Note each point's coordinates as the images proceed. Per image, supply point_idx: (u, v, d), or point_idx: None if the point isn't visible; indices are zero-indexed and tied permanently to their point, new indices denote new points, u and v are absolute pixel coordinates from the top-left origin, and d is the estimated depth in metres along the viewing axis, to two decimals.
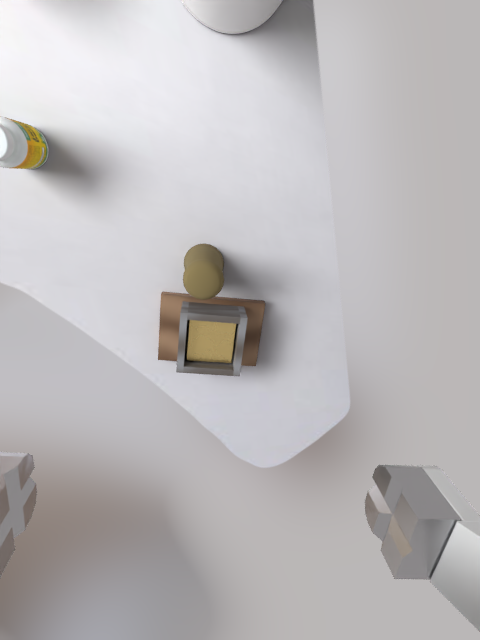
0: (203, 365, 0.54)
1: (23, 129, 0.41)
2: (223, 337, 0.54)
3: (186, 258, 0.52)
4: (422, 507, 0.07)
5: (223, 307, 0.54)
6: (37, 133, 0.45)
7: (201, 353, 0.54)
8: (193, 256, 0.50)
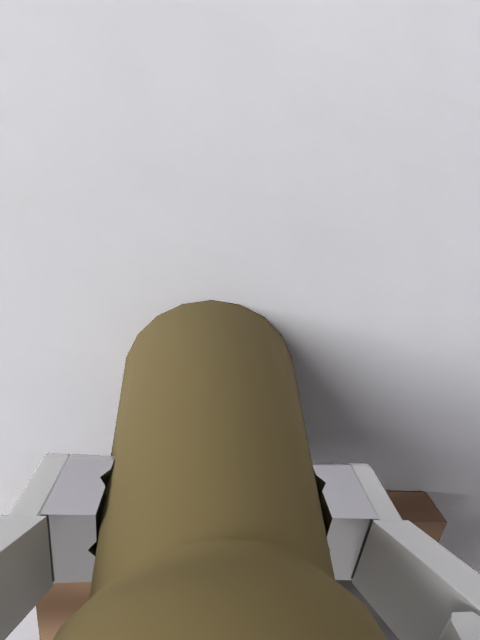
0: None
1: None
2: None
3: (125, 379, 0.11)
4: (340, 506, 0.07)
5: None
6: None
7: None
8: (149, 407, 0.08)
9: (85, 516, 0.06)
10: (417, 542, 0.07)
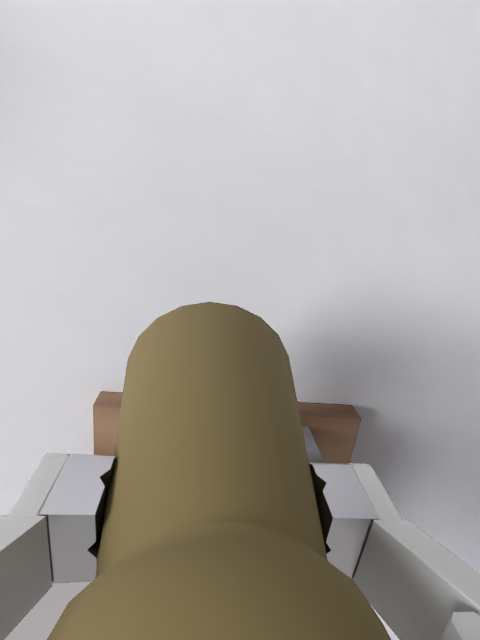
0: None
1: None
2: None
3: (127, 379, 0.11)
4: (340, 506, 0.07)
5: None
6: None
7: None
8: (150, 403, 0.08)
9: (84, 516, 0.06)
10: (418, 542, 0.07)
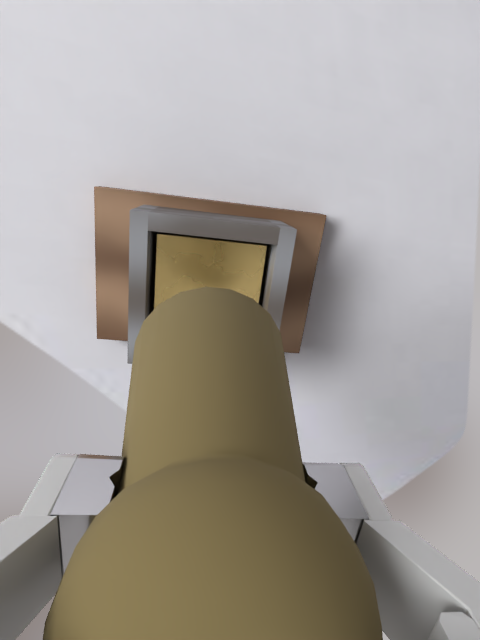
0: None
1: None
2: (236, 283, 0.23)
3: (135, 358, 0.12)
4: (331, 505, 0.07)
5: (236, 217, 0.24)
6: None
7: None
8: (154, 373, 0.10)
9: (95, 516, 0.06)
10: (407, 542, 0.07)
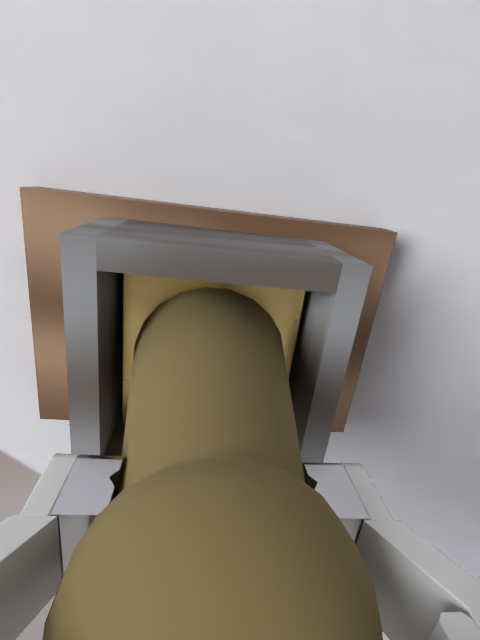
0: None
1: None
2: None
3: (135, 359, 0.12)
4: (331, 505, 0.07)
5: (256, 237, 0.15)
6: None
7: None
8: (154, 374, 0.10)
9: (95, 516, 0.06)
10: (407, 542, 0.07)
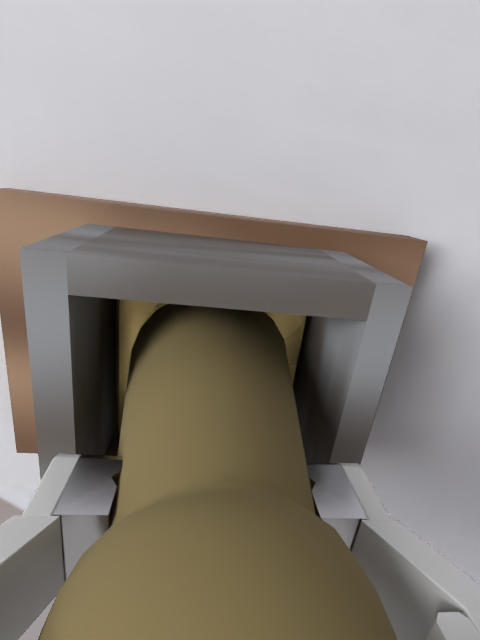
0: None
1: None
2: None
3: (131, 367, 0.12)
4: (329, 505, 0.07)
5: (265, 248, 0.12)
6: None
7: None
8: (150, 386, 0.09)
9: (97, 516, 0.06)
10: (406, 542, 0.07)
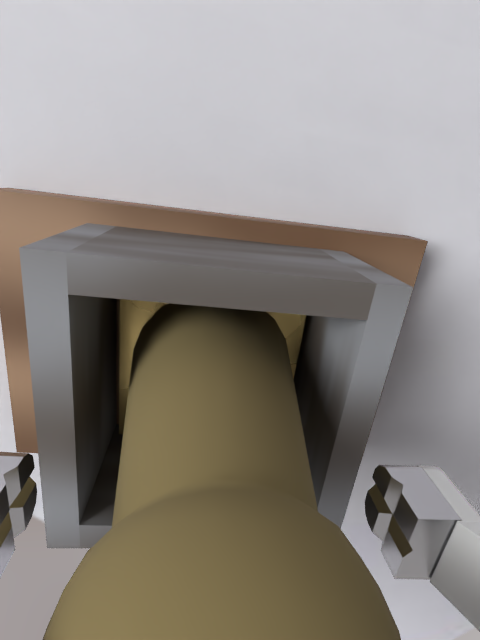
0: None
1: None
2: None
3: (133, 367, 0.12)
4: (422, 507, 0.07)
5: (265, 248, 0.12)
6: None
7: None
8: (153, 385, 0.09)
9: None
10: None
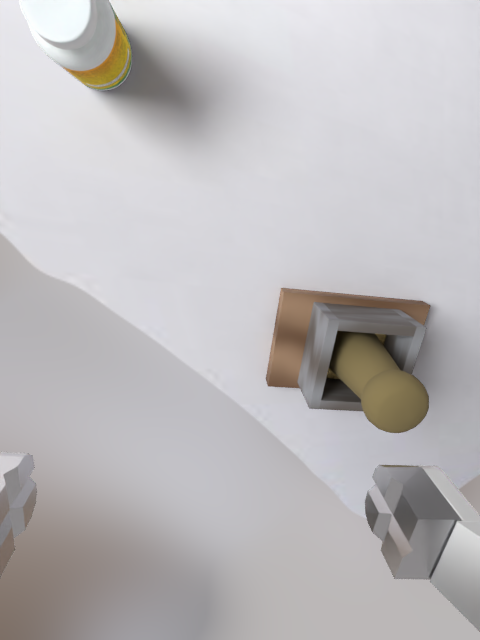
0: (346, 397, 0.37)
1: None
2: None
3: (335, 350, 0.36)
4: (422, 507, 0.07)
5: (375, 311, 0.37)
6: None
7: None
8: (356, 354, 0.33)
9: None
10: None
